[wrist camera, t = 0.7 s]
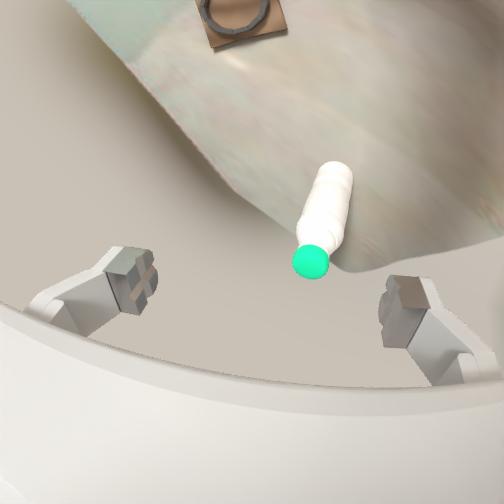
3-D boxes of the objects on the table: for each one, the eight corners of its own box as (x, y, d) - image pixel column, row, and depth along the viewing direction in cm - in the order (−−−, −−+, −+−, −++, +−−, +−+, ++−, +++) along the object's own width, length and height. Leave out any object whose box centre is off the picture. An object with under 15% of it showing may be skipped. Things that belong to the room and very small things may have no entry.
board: (193, -13, 34) (190, -14, 33) (265, -38, 28) (263, -40, 27) (214, 47, 42) (211, 48, 41) (287, 29, 36) (285, 28, 35)
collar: (197, -11, 33) (193, -12, 32) (258, -33, 28) (254, -34, 27) (215, 40, 40) (210, 41, 39) (277, 24, 35) (274, 23, 34)
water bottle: (310, 170, 54) (271, 258, 37) (340, 153, 49) (315, 240, 33) (331, 197, 56) (302, 292, 40) (360, 182, 51) (346, 279, 35)
